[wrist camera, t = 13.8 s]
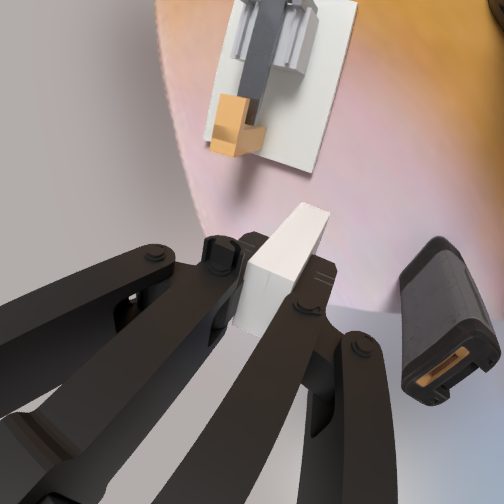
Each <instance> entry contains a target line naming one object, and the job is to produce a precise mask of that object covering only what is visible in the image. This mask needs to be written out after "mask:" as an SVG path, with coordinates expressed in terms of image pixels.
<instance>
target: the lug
mask: <svg viewBox="0 0 504 504" xmlns="http://www.w3.org/2000/svg"><path fill="white" fill-rule="evenodd" d="M249 102H250V99H248V98H243V97H238V96H233V95H228V94H221V93H220V98H219V103H218V107H217V112H216V117H215V122H214V127H213V133H212V138H211V143H210V149H209V151H212V152H216V153H219V154H222V155H226V156H229V157H233V158H234V157H237V156H240V155H244V154H247V153H250V152H254V151H257V150H261V149H262V146H263V141H264V137H265V133H266V129H267V127H263V126H259V125H257V126H251V125H247V124H245V120H246V115H247V111H248V106H249Z"/></svg>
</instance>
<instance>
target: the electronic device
mask: <svg viewBox="0 0 504 504" xmlns="http://www.w3.org/2000/svg"><path fill="white" fill-rule="evenodd" d="M400 292H401V311H402V381H401V388H402V390H403V391H404V392H405V393H406V394H408V395H409V396H411V397H412V398H414V399H415V400H417V401H419V402H420V403H422V404H425V405H427V406H436V405H439V404H441V403H443V402H445V401H446V400H448V399H449V398H450V392H449V389H450V388H452V387H453V386H454V385H456V384H457V383H459V382H460V381H462V380H463V379H464V378H466V377H467V376H468V375H470V374H471V373H472V372H474V371H475V370H476V369H478V368H479V367H480V368H481V369H482V370H483V371H484V372H485V373H486V372H488V371H489V370H490V369H491V368H492V367H494V365H495V364H496V363H497V362H498V360H499V359H500V356H501V350H500V346H499V343H498V341H497V338H496V335H495V332H494V329H493V326H492V324H491V321H490V318H489V315H488V312H487V310H486V307H485V305H484V303H483V300H482V298H481V296H480V293H479V291H478V289H477V287H476V284H475V282H474V280H473V278H472V276H471V274H470V272H469V270H468V268H467V266H466V264H465V262H464V260H463V258H462V256H461V254H460V252H459V251H458V250H457V249H456V248H455V247H454V246H453V245H452V244H451V243H450V242H449V241H448V240H447V239H445V238H444V237H442V236H436V237H434V238H432V239H431V240H430V241H429V242H428V243H427V244H426V246H425V247H424V248H423V249H422V250H421V251H420V253H419V254H418V255H417V256H416V257H415V258H414V259H413V260H412V262H411V263H410V264H409V265H408V266H407V267H406V268H405V269H404V270H403V272H402V273H401V275H400Z"/></svg>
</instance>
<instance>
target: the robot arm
mask: <svg viewBox="0 0 504 504" xmlns="http://www.w3.org/2000/svg"><path fill="white" fill-rule="evenodd" d="M488 1H489V5H490V7H491V10H492V12H493V14H494V16H495V18H496V20H497V22H498V23H499V25H500V27H501V28H502V30H503V31H504V0H488ZM329 216H330V212H327V211H325V210H322V209H319V208H317V207H314V206H312V205H309V204H307V203H304V202H301V203H300V205H299V206H298V207H297V208H296V209H295V210H294V211H293V212H292V213H291V215H290V216H289V217H288V218H287V219H286V220H285V221H284V222H283V223H282V224H281V226H280V227H279V228H278V229H277V230H276V231H275V232H274V233H273V234H272V235H271V237H267V236H265V235H262V234H260V233H257V232H255V231H254V232H250V233H247V234H244V235H243V236H242V237H241V238H240V239H239V240H236V239H234V238H231V237H227V236H221V235H215V236H209V237H207V238H205V239H204V246H203V252H202V259H201V262H199V263H198V264H197V265H189V264H185V263H180V262H176V261H175V253H174V251H173V250H172V249H171V248H169V247H167V246H165V245H161V244H148V245H144V246H141V247H139V248H136V249H134V250H131V251H128V252H126V253H123V254H121V255H118V256H116V257H113V258H110V259H108V260H106V261H103V262H101V263H98V264H96V265H93V266H91V267H88V268H86V269H84V270H81V271H79V272H76V273H74V274H71V275H69V276H67V277H64V278H62V279H60V280H58V281H55V282H53V283H50V284H48V285H46V286H44V287H41V288H39V289H37V290H35V291H32V292H30V293H28V294H25V295H23V296H21V297H19V298H17V299H14V300H12V301H10V302H8V303H6V304H4V305H2V306H0V418H2V417H4V416H5V415H7V414H9V413H11V412H13V411H15V410H17V409H18V408H20V407H22V406H24V405H26V404H27V403H29V402H31V401H33V400H35V399H36V398H38V397H40V396H42V395H44V394H45V393H47V392H49V391H51V390H52V389H54V388H56V387H58V386H59V385H61V384H62V385H61V386H60V387H59V388H58V389H57V390H56V391H55V392H54V393H53V394H52V395H51V396H50V397H49V398H48V399H47V400H46V401H45V402H44V403H42V404H41V405H40V406H39V407H38V408H37V409H36V410H34V411H32V412H30V413H25V412H15V413H12V414H9V415H7V416H6V417H4V418H3V419H1V420H0V504H98V503H99V502H100V500H101V499H102V498H103V496H104V494H105V491H106V487H107V485H108V483H109V482H110V480H111V479H112V478H113V477H114V475H115V474H116V473H117V472H118V470H119V469H120V468H121V467H122V466H123V464H124V463H125V462H126V461H127V459H128V458H129V457H130V456H131V455H132V453H133V452H134V451H135V450H136V448H137V447H138V446H139V445H140V443H141V442H142V441H143V440H144V438H145V437H146V436H147V435H148V433H149V432H150V431H151V430H152V428H153V427H154V426H155V424H156V423H157V422H158V421H159V419H160V418H161V417H162V416H163V414H164V413H165V412H166V410H167V409H168V408H169V407H170V405H171V404H172V403H173V402H174V400H175V399H176V398H177V396H178V395H179V394H180V393H181V391H182V390H183V389H184V387H185V386H186V385H187V383H188V382H189V381H190V379H191V378H192V377H193V376H194V374H195V373H196V372H197V370H198V369H199V368H200V366H201V365H202V364H203V362H204V361H205V360H206V358H207V357H208V356H209V354H210V353H211V352H212V350H213V349H214V348H215V346H216V345H217V344H218V342H219V341H220V340H221V338H222V337H223V336H224V334H225V332H226V329H227V325H228V322H229V321H230V320H231V318H232V317H233V316H234V318H233V321H232V325H234V326H236V327H238V328H240V329H242V330H244V331H246V332H248V333H250V334H253V335H255V336H257V337H259V338H261V340H260V341H259V343H258V344H257V346H256V348H255V349H254V351H253V353H252V354H251V356H250V358H249V359H248V361H247V362H246V364H245V366H244V367H243V369H242V371H241V372H240V374H239V375H238V377H237V379H236V380H235V382H234V383H233V385H232V387H231V388H230V390H229V391H228V393H227V394H226V396H225V398H224V399H223V401H222V402H221V404H220V406H219V407H218V409H217V410H216V412H215V413H214V415H213V416H212V418H211V419H210V421H209V422H208V424H207V425H206V427H205V428H204V430H203V431H202V433H201V434H200V436H199V437H198V439H197V440H196V442H195V443H194V444H193V446H192V447H191V449H190V450H189V452H188V453H187V455H186V456H185V458H184V459H183V460H182V462H181V463H180V465H179V466H178V467H177V469H176V470H175V472H174V473H173V475H172V476H171V477H170V479H169V480H168V481H167V483H166V484H165V486H164V487H163V489H162V490H161V491H160V492H159V494H158V495H157V496H156V498H155V499H154V500H153V502H152V503H151V504H244V503H245V501H246V499H247V497H248V496H249V494H250V492H251V490H252V488H253V486H254V484H255V482H256V480H257V479H258V476H259V475H260V472H261V471H262V468H263V467H264V465H265V463H266V460H267V458H268V456H269V454H270V452H271V450H272V448H273V446H274V444H275V441H276V439H277V437H278V435H279V433H280V431H281V428H282V426H283V424H284V422H285V419H286V417H287V415H288V412H289V410H290V408H291V405H292V403H293V401H294V398H295V396H296V393H297V391H298V388H299V386H300V383H301V384H302V385H304V386H305V387H306V388H308V389H309V390H308V396H307V412H306V424H305V435H304V445H303V456H302V466H301V474H300V482H299V490H298V498H297V504H398V490H397V489H398V488H397V467H396V451H395V439H394V429H393V420H392V411H391V403H390V396H389V389H388V382H387V376H386V370H385V364H384V359H383V353H382V350H381V347H380V345H379V344H378V342H377V341H376V340H375V339H374V338H373V337H371V336H370V335H368V334H366V333H363V332H361V331H350V332H347V333H346V334H345V335H344V334H342V333H341V332H340V331H338V330H337V329H336V328H335V327H333V326H332V324H331V323H330V322H329V321H328V319H327V317H326V312H325V311H326V306H327V303H328V300H329V297H330V294H331V290H332V287H333V284H334V281H335V278H336V274H337V269H336V266H335V263H333V262H330V261H328V260H326V259H323V258H321V257H318V256H316V255H315V254H316V251H317V248H318V246H319V243H320V241H321V238H322V235H323V232H324V230H325V227H326V224H327V222H328V219H329ZM135 293H136V298H135V299H132V300H129V296H131V295H133V294H135Z"/></svg>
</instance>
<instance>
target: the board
mask: <svg viewBox="0 0 504 504" xmlns="http://www.w3.org/2000/svg"><path fill="white" fill-rule="evenodd" d="M260 2H261V1H260V0H235V2H234V5H233V9H232V12H231V16H230V20H229V24H228V28H227V31H226V35H225V39H224V43H223V47H222V52H221V56H220V60H219V64H218V69H217V73H216V78H215V82H214V87H213V92H212V96H211V101H210V106H209V111H208V116H207V121H206V127H205V132H204V138H203V140H205V141H209V142H211V138H212V133H213V127H214V122H215V117H216V112H217V107H218V103H219V98H220V93H221V94H228V95H233V96H237V93H238V88H239V84H240V80H241V75H242V71H243V67H244V63H245V59H246V55H247V51H248V47H249V43H250V39H251V35H252V32H253V28H254V24H255V20H256V17H257V13H258V9H259V6H260ZM357 8H358V3H357V2H353V1H349V0H292V4H290V3H288V4H287V8H286V11H285V15H284V19H283V23H282V26H281V30H280V34H279V38H278V42H277V45H276V49H275V53H274V57H273V61H272V65H271V69H270V73H269V77H268V81H267V85H266V89H265V93H264V97H263V101H262V105H261V109H260V114H259V118H258V122H257V125H259V126H263V127H267V129H266V133H265V137H264V141H263V146H262V149H261V150H257V151H254V152H250V153H251V154H255V155H258V156H261V157H264V158H267V159H271V160H274V161H277V162H280V163H283V164H286V165H289V166H292V167H295V168H298V169H300V170H303V171H306V172H309V173H312V172H313V171H314V167H315V164H316V161H317V157H318V154H319V151H320V147H321V144H322V140H323V137H324V133H325V130H326V127H327V123H328V119H329V116H330V112H331V109H332V105H333V102H334V98H335V94H336V91H337V87H338V83H339V80H340V76H341V72H342V68H343V65H344V61H345V57H346V53H347V49H348V45H349V41H350V37H351V33H352V29H353V25H354V21H355V17H356V12H357Z"/></svg>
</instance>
